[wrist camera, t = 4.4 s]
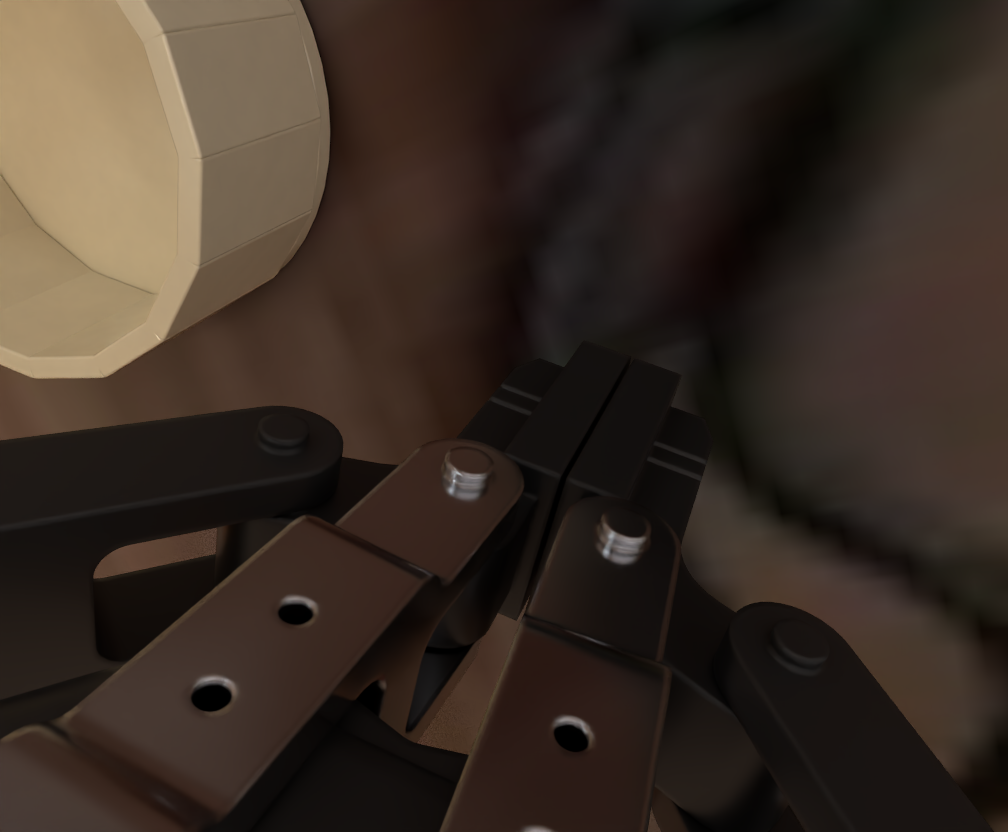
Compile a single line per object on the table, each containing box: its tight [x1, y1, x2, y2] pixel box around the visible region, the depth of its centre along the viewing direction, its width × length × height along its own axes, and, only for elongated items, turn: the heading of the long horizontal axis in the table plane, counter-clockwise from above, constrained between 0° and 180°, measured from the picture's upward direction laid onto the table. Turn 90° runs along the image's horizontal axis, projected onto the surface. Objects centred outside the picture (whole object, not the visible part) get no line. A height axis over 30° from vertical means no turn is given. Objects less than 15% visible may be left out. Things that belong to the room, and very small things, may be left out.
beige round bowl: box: [0, 0, 330, 379], centre depth 18 cm, size 10×10×4 cm
